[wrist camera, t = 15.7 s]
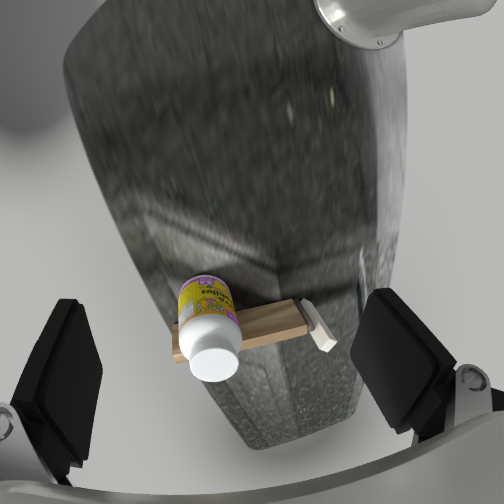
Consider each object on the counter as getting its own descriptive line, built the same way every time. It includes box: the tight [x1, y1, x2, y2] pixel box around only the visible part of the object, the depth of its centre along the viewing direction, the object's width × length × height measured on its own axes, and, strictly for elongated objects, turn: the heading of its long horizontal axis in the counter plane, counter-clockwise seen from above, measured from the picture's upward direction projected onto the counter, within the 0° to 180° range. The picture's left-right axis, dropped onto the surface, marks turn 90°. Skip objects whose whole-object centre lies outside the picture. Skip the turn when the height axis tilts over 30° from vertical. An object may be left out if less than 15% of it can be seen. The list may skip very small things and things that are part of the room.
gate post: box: [301, 298, 337, 352], centre depth 39 cm, size 2×2×9 cm
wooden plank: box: [172, 298, 316, 363], centre depth 38 cm, size 2×18×6 cm, turn 97°
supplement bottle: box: [178, 275, 242, 382], centre depth 33 cm, size 7×7×13 cm
